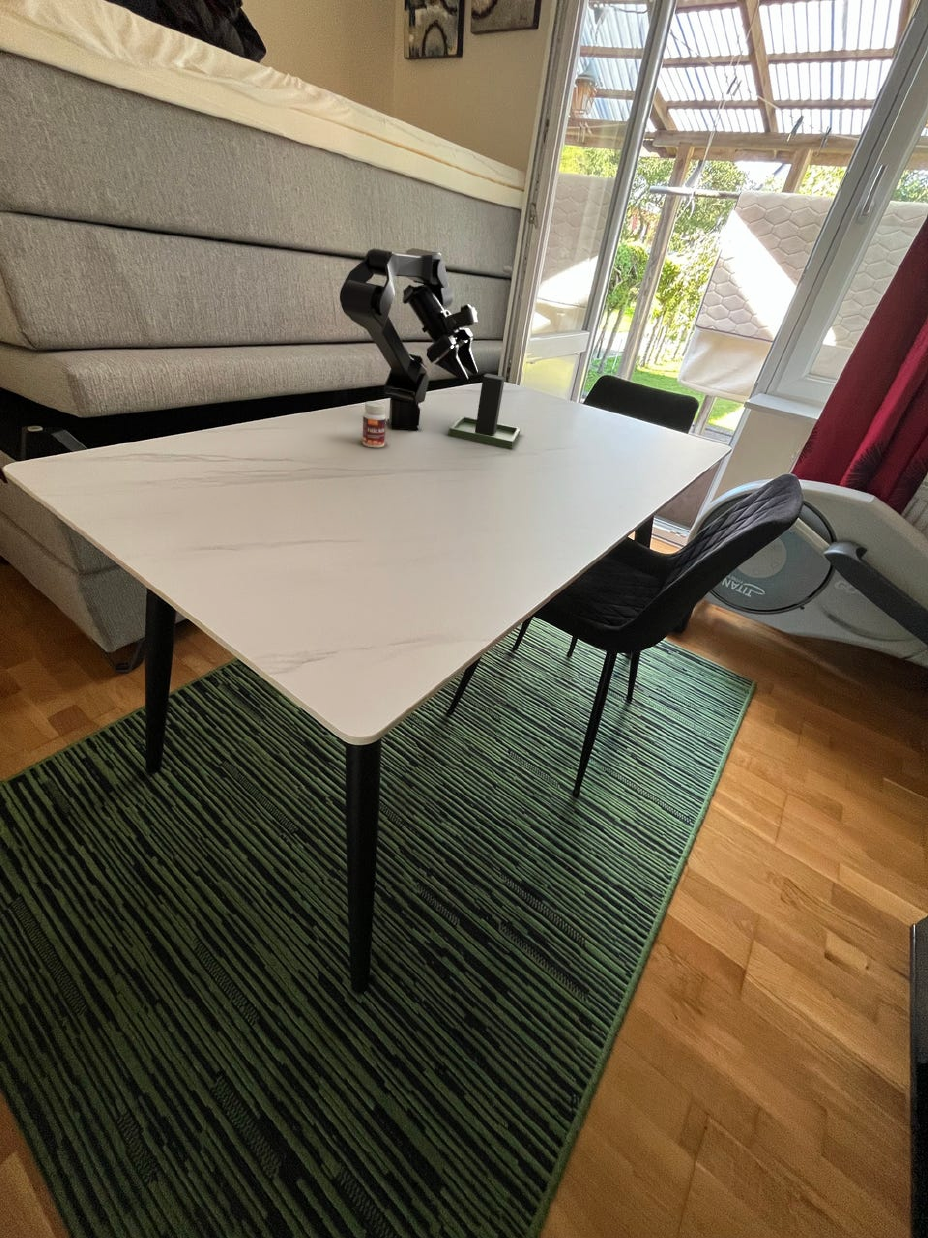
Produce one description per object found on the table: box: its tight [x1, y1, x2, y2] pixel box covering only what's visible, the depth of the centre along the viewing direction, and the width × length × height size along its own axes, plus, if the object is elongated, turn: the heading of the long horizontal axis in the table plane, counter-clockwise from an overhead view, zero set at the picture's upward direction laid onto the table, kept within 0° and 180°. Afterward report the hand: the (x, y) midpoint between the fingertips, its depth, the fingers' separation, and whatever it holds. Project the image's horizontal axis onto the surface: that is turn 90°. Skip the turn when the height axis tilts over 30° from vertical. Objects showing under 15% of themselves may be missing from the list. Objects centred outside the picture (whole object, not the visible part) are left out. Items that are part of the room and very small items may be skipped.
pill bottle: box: [362, 400, 387, 449], centre depth 109 cm, size 5×5×8 cm
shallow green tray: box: [448, 415, 522, 450], centre depth 127 cm, size 16×13×2 cm
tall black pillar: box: [475, 373, 506, 436], centre depth 124 cm, size 4×4×13 cm
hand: (471, 377), depth 121 cm, fingers open, 9 cm apart
